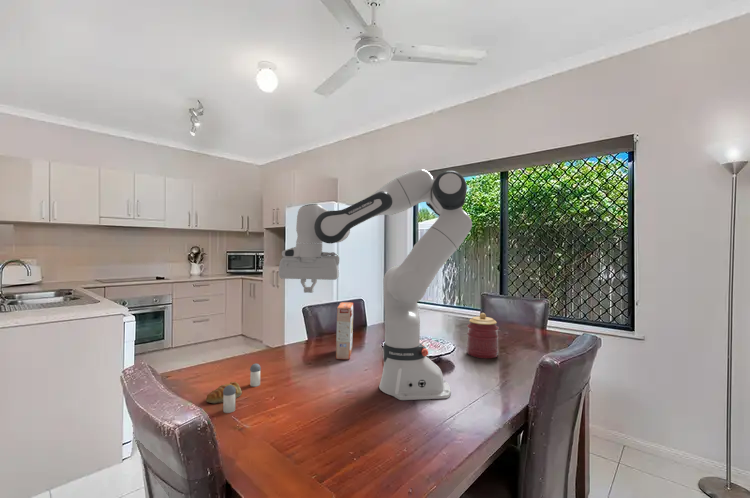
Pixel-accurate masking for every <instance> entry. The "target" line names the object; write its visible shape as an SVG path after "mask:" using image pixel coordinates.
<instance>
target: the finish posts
mask: <svg viewBox="0 0 750 498" xmlns="http://www.w3.org/2000/svg"><path fill="white" fill-rule="evenodd" d="M261 369H262V367H261V365H260V364H259V363H253V364H252V365H250V369H249V370H250V373H249V374H250V382H249V385H250V387H252V388H253V387H254V388H256V387H259V386H261ZM235 393H236V388H235V387H234V386H233V385H228V386H226V387H225V388H224V390H223V394H224V396H223V402H222V403H223V407H222V409H223V410H222V411H223V413H225V414H230V413H233V412H235V411H236V398H235Z"/></svg>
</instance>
